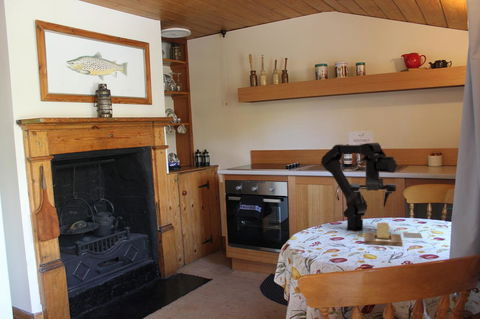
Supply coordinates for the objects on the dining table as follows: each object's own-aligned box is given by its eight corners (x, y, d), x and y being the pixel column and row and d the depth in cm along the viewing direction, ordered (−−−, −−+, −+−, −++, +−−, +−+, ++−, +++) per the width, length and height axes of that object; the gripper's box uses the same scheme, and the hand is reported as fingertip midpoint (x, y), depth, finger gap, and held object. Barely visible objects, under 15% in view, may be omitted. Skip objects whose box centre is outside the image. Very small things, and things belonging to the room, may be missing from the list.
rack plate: (364, 246, 162) (364, 240, 161) (365, 238, 173) (365, 232, 173) (402, 248, 157) (402, 242, 157) (400, 240, 169) (400, 234, 168)
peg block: (377, 244, 164) (377, 225, 163) (377, 241, 168) (376, 222, 167) (388, 245, 162) (388, 225, 162) (388, 242, 167) (388, 223, 166)
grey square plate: (404, 239, 169) (404, 237, 169) (402, 234, 177) (402, 232, 177) (422, 240, 167) (422, 238, 167) (420, 235, 175) (420, 233, 174)
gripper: (349, 173, 173) (350, 209, 175) (396, 173, 168) (396, 210, 169) (350, 170, 184) (351, 204, 185) (394, 170, 178) (395, 205, 179)
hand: (372, 206), depth 179 cm, fingers open, 9 cm apart
